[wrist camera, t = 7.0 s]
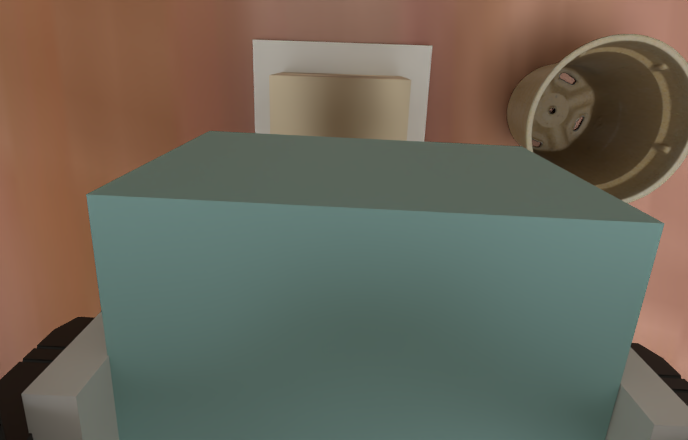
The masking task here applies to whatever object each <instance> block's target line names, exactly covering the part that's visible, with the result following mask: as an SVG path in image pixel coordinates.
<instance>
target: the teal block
mask: <svg viewBox="0 0 688 440" xmlns="http://www.w3.org/2000/svg"><path fill="white" fill-rule="evenodd" d="M86 196H87V204H88V211H89V219H90V227H91V234H92V242H93V250H94V257H95V265H96V273H97V280H98V288H99V296H100V303H101V311H102V318H103V326H104V334H105V341H106V349H107V356H109V361H110V369H111V378H112V386H113V394H114V402H115V410H116V418H117V426H118V434H119V440H605V438H606V434H607V430H608V427H609V423H610V420H611V416H612V412H613V409H614V405H615V401H616V398H617V394H618V390H619V387H620V383H621V380H622V376H623V372H624V369H625V365H626V361H627V358H628V354H629V350H630V347H631V343H632V340H633V336H634V332H635V329H636V325H637V321H638V318H639V314H640V310H641V307H642V303H643V300H644V296H645V292H646V289H647V285H648V281H649V278H650V274H651V270H652V267H653V263H654V259H655V256H656V252H657V249H658V245H659V241H660V238H661V234H662V230H663V227H664V223H662V222H661V221H659V220H657V219H655V218H653V217H651V216H649V215H648V214H646V213H644V212H642V211H640V210H638V209H637V208H635V207H633V206H631V205H629V204H627V203H625V202H624V201H622V200H620V199H618V198H616V197H614V196H613V195H611V194H609V193H607V192H605V191H603V190H601V189H600V188H598V187H596V186H594V185H592V184H590V183H588V182H587V181H585V180H583V179H581V178H579V177H577V176H576V175H574V174H572V173H570V172H568V171H566V170H564V169H563V168H561V167H559V166H557V165H555V164H553V163H552V162H550V161H548V160H546V159H544V158H542V157H540V156H539V155H537V154H535V153H533V152H531V151H529V150H528V149H526V148H524V147H522V146H502V145H482V144H462V143H442V142H422V141H401V140H381V139H361V138H341V137H321V136H300V135H280V134H260V133H240V132H220V131H209V132H207V133H205V134H203V135H201V136H199V137H197V138H195V139H193V140H191V141H189V142H187V143H185V144H183V145H181V146H179V147H178V148H176V149H174V150H172V151H170V152H168V153H166V154H164V155H162V156H160V157H158V158H156V159H154V160H152V161H150V162H148V163H146V164H145V165H143V166H141V167H139V168H137V169H135V170H133V171H131V172H129V173H127V174H125V175H123V176H121V177H119V178H117V179H115V180H113V181H112V182H110V183H108V184H106V185H104V186H102V187H100V188H98V189H96V190H94V191H92V192H90V193H88V194H86Z"/></svg>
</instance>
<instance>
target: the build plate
mask: <svg viewBox="0 0 688 440" xmlns="http://www.w3.org/2000/svg"><path fill="white" fill-rule="evenodd" d="M431 56H432V46H425V45H396V44H367V43H338V42H308V41H279V40H253V71H254V109H255V133H260V134H270V96H269V75H272V74H276V73H281V72H299V73H329V74H358V75H387V76H402V77H405V78H407V79H410V80H411V90H410V103H409V117H408V130H407V141H422V142H424V138H425V126H426V115H427V103H428V91H429V80H430V68H431Z"/></svg>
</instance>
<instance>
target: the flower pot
mask: <svg viewBox="0 0 688 440" xmlns="http://www.w3.org/2000/svg"><path fill="white" fill-rule="evenodd" d="M562 73H567V74H568V75H570V76H571V77H573V78H574V79H575V80H576V82H575V83H574V84H573V85H572V84H570V83H567V82H566V81H564V80H562V79H560V75H561V74H562ZM551 108H555V113H553V114H550V112H549V110H550V109H551ZM580 117H584V118H583V121H582V123H581V124H580V126H579V128H578V129H577V130H575V131H574V130H573V128H574V127H575V125H576V123H575V122H577V121H578V120H579V119H580ZM507 120H508V126H509V129H510V132H511V134H512V136H513V138H514V139H515V140H516V142H517V143H518V144H519V145H520V146H522V147H524V148H526V149H528V150H529V151H531V152H533V153H535V154H537V155H539V156H540V157H542V158H544V159H546V160H548V161H550V162H552V163H553V164H555V165H557V166H559V167H561V168H563V169H564V170H566V171H568V172H570V173H572V174H574V175H576V176H577V177H579V178H581V179H583V180H585V181H587V182H588V183H590V184H592V185H594V186H596V187H598V188H600V189H601V190H603V191H605V192H607V193H609V194H611V195H613V196H614V197H616V198H618V199H620V200H622V201H624V202H625V203H630V202H633V201H635V200H637V199H640V198H642V197H644V196H646V195H648V194H649V193H651V192H652V191H654V190H655V189H657V188H658V187H660V186H661V185H662V184H663V183H664V182H666V181H667V180H668V179H669V178H670V177H671V176H672V175H673V173H674V172H675V171H676V170H677V169H678V168H679V167H680V165H681V163H682V162H683V161H684V159H685V158H686V156H687V155H688V63H687V62H686V61H685V59H684V58H683V57H682V56H681V55H680V54H679V53H678V52H677V51H676V50H675V49H673V48H672V47H670V46H669V45H667V44H665V43H664V42H662V41H660V40H657V39H654V38H651V37H648V36H643V35H637V34H618V35H612V36H607V37H603V38H600V39H597V40H594V41H591V42H589V43H587V44H585V45H583V46H581V47H579V48H578V49H576V50H574V51H573V52H571V53H570V54H569V55H567V56H566V57H565V58H563V59H562V60H561V61H560V62H559V63H555V64H552V65H546V66H543V67H540V68H538V69H536V70H535V71H533V72H531V73H530V74H528V75H527V76H526V77H524V78H523V79H522V80H521V81H520V83H519V84H518V85H517V86H516V88H515V89H514V91H513V93H512V95H511V97H510V100H509V103H508V108H507ZM532 139H533V140H535V141H538V142H541V146H540V147H534V146H532Z"/></svg>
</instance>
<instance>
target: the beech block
mask: <svg viewBox="0 0 688 440" xmlns="http://www.w3.org/2000/svg"><path fill="white" fill-rule="evenodd" d="M410 90H411V80H410V79H407V78H405V77H402V76H387V75H358V74H329V73H299V72H281V73H276V74H272V75H269V96H270V134H280V135H300V136H321V137H341V138H361V139H381V140H401V141H407V130H408V117H409V103H410Z"/></svg>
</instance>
